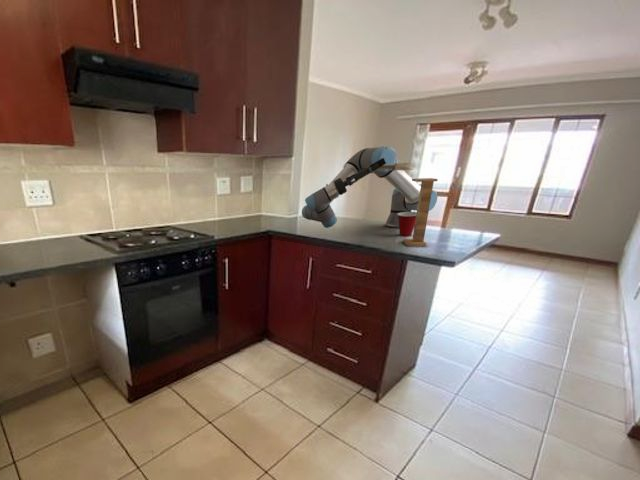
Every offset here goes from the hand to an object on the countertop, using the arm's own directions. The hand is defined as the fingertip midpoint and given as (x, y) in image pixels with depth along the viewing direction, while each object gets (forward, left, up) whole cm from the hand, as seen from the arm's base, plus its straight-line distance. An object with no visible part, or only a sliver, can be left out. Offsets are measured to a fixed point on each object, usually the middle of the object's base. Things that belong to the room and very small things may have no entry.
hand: (384, 160), depth 152 cm
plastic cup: (-22, +19, -38) cm, 48 cm away
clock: (0, +3, -4) cm, 5 cm away
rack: (0, +18, -38) cm, 42 cm away
